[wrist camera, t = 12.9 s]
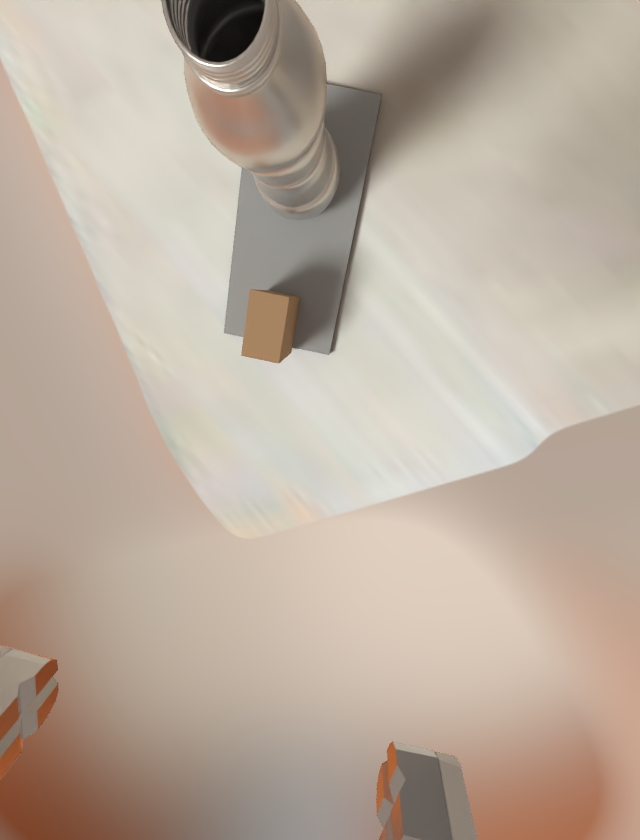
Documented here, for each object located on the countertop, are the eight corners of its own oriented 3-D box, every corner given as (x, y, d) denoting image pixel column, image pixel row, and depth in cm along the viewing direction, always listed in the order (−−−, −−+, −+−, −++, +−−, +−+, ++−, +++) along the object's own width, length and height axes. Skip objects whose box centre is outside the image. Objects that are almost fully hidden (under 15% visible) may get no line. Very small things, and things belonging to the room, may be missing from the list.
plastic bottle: (272, 233, 32) (154, 145, 13) (254, 142, 30) (84, -112, 11) (347, 216, 31) (334, 96, 12) (333, 121, 29) (291, -194, 11)
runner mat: (254, 73, 29) (227, 14, 23) (381, 97, 29) (387, 44, 23) (225, 337, 36) (197, 346, 30) (328, 359, 36) (322, 372, 30)
